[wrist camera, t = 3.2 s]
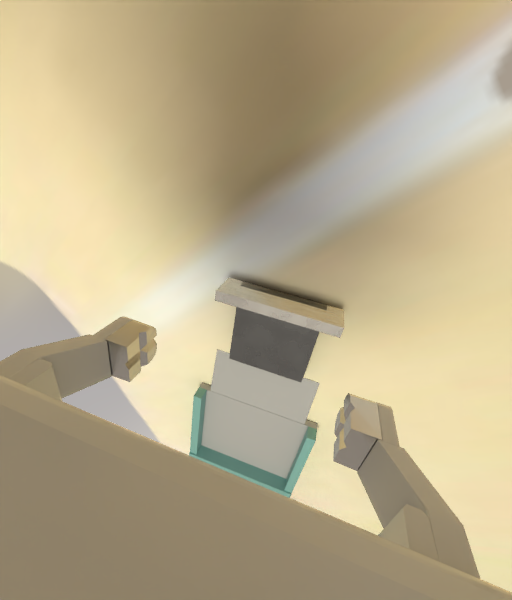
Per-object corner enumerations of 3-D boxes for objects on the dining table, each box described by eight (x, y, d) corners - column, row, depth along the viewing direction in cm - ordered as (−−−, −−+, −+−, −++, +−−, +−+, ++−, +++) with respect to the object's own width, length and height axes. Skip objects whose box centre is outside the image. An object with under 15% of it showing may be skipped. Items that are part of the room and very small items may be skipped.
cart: (230, 274, 26) (215, 290, 23) (344, 306, 24) (343, 327, 21) (221, 345, 31) (208, 366, 28) (316, 376, 29) (313, 402, 26)
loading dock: (209, 340, 32) (195, 359, 29) (333, 381, 30) (332, 406, 27) (200, 435, 42) (189, 457, 39) (293, 472, 40) (289, 498, 37)
